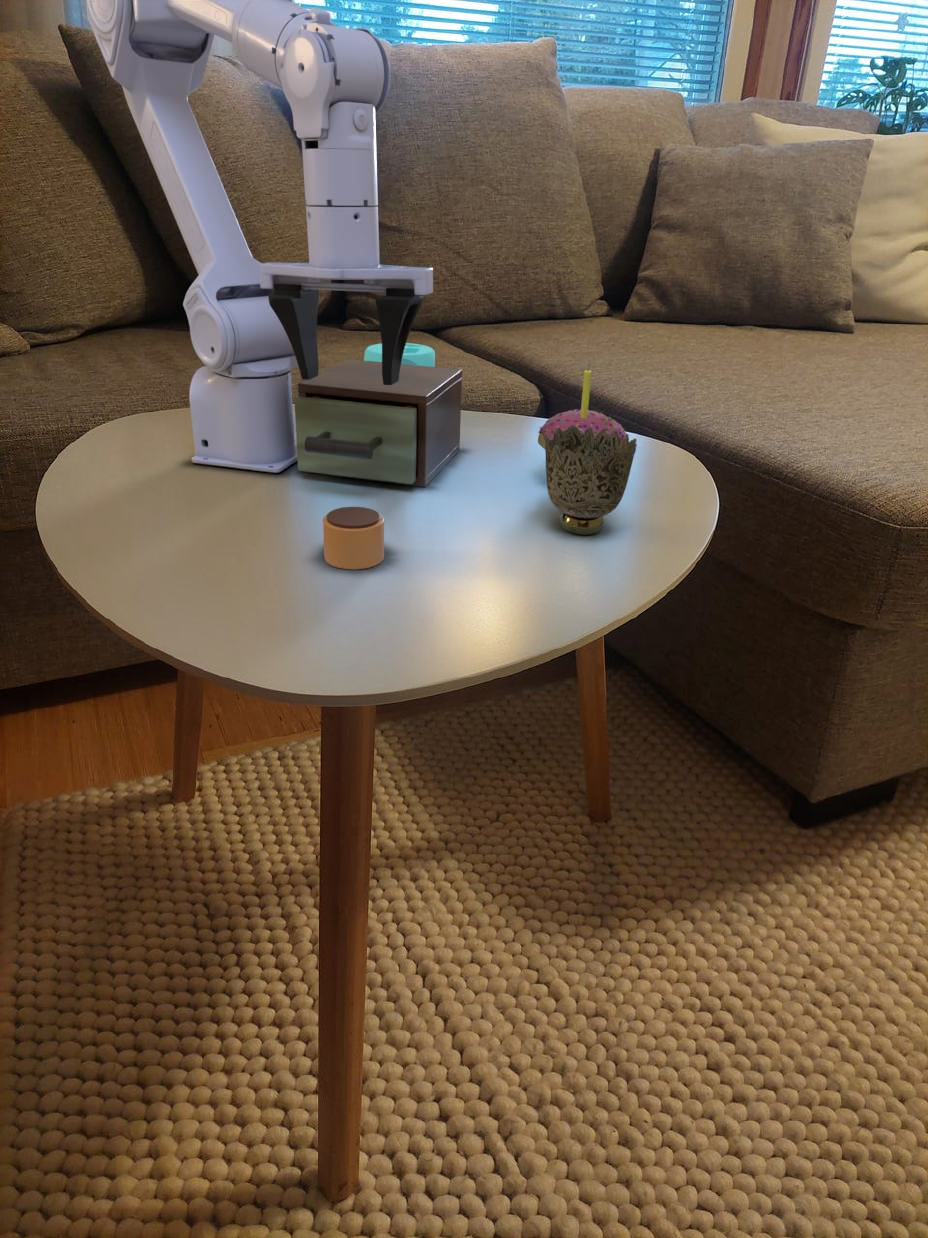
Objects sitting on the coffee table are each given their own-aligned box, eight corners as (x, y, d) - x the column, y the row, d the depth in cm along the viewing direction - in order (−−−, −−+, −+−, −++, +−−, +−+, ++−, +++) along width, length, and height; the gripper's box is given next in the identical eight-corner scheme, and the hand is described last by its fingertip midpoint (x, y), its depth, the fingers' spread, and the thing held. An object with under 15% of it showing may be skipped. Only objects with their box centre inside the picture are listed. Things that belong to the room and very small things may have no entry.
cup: (602, 553, 70) (614, 456, 66) (522, 532, 73) (529, 439, 70) (638, 526, 76) (650, 435, 72) (561, 507, 79) (570, 420, 75)
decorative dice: (363, 424, 101) (362, 354, 98) (369, 407, 108) (368, 341, 105) (432, 427, 102) (433, 356, 98) (434, 409, 109) (435, 343, 105)
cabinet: (425, 487, 83) (426, 396, 79) (302, 472, 85) (297, 383, 82) (459, 450, 94) (462, 369, 90) (349, 438, 96) (347, 358, 92)
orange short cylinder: (314, 565, 66) (312, 522, 65) (338, 542, 70) (336, 502, 69) (372, 573, 65) (371, 530, 64) (392, 550, 69) (392, 509, 68)
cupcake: (619, 502, 81) (636, 370, 75) (529, 493, 82) (538, 363, 77) (623, 474, 88) (638, 352, 83) (540, 466, 90) (549, 346, 84)
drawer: (397, 499, 77) (397, 422, 74) (278, 484, 79) (273, 409, 76) (446, 450, 91) (447, 384, 87) (343, 438, 93) (341, 374, 90)
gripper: (234, 205, 68) (252, 383, 74) (413, 208, 64) (416, 394, 70) (275, 204, 74) (287, 368, 80) (440, 207, 70) (440, 378, 76)
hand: (350, 380), depth 75 cm, fingers open, 7 cm apart
